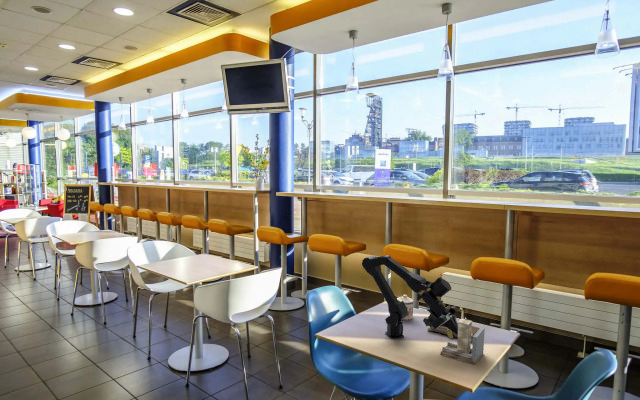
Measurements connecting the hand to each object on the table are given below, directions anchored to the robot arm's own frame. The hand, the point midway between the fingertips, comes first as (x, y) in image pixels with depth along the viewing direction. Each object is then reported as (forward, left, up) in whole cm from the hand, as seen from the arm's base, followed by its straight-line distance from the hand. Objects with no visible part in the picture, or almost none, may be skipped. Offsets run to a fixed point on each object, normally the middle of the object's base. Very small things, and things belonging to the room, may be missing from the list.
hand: (458, 334), depth 165 cm
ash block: (+1, -2, -7) cm, 7 cm away
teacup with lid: (+2, +44, -8) cm, 45 cm away
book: (+12, +21, -9) cm, 25 cm away
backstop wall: (+4, -7, -7) cm, 11 cm away
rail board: (+1, -1, -8) cm, 8 cm away
